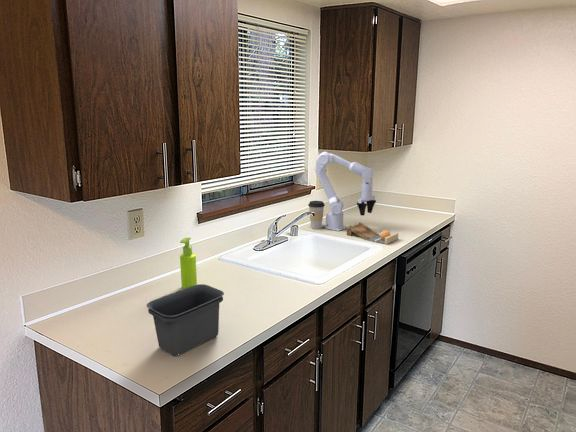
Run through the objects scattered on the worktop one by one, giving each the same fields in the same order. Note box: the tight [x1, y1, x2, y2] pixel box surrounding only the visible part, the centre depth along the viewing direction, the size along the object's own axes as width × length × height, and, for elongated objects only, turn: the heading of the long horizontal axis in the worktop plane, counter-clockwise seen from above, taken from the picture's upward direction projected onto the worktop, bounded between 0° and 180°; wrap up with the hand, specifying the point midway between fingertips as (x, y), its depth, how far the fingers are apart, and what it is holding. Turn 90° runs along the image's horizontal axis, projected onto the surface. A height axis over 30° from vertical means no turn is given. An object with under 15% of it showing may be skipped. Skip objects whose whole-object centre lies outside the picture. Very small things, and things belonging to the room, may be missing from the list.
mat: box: [363, 232, 399, 246], centre depth 244 cm, size 14×12×3 cm
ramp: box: [346, 222, 379, 240], centre depth 251 cm, size 14×10×7 cm
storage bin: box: [146, 283, 225, 357], centre depth 140 cm, size 21×16×14 cm
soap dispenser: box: [179, 237, 198, 290], centre depth 179 cm, size 6×7×20 cm
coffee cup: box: [307, 200, 326, 230], centre depth 265 cm, size 9×9×15 cm
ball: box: [380, 229, 391, 240], centre depth 242 cm, size 5×5×5 cm
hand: (365, 214), depth 259 cm, fingers open, 7 cm apart
